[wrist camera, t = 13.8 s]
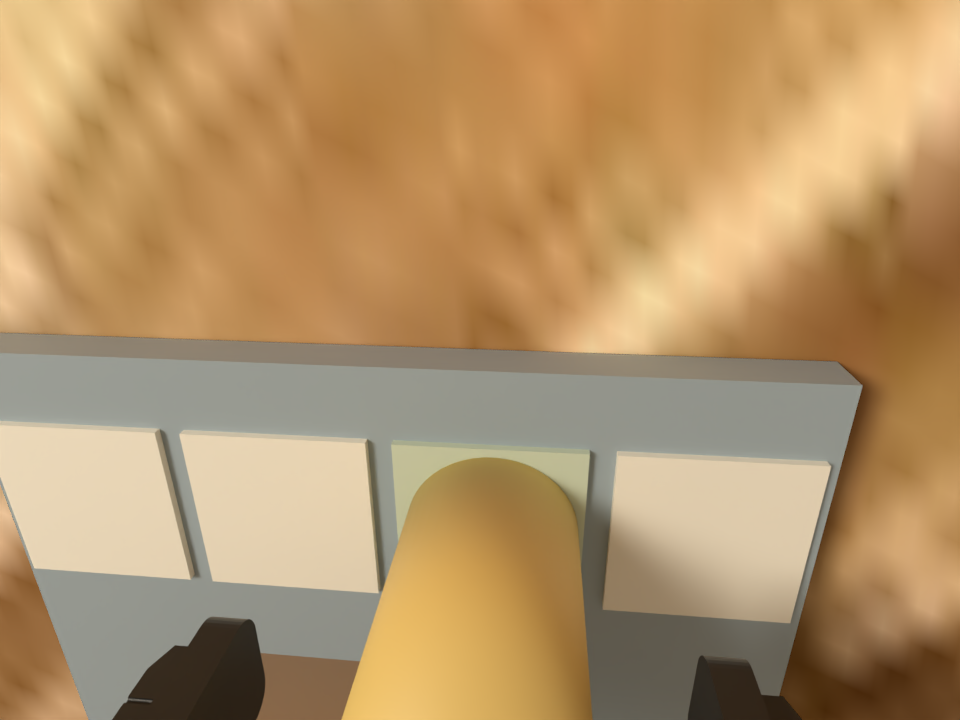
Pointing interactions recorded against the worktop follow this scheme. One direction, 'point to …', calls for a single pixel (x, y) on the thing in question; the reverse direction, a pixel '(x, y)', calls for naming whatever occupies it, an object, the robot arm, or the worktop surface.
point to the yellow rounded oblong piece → (480, 604)
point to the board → (409, 498)
